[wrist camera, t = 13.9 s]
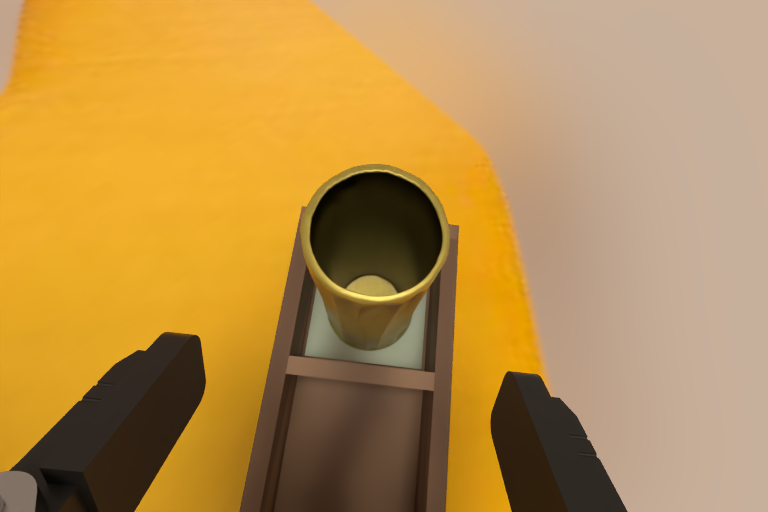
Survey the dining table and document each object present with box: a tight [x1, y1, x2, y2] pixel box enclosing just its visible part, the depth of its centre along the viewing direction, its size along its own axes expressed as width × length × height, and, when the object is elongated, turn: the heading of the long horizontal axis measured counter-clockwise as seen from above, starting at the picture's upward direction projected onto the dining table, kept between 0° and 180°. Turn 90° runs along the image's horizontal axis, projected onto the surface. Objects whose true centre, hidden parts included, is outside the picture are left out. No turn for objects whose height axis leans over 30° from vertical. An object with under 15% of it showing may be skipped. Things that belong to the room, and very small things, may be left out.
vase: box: [300, 164, 450, 351], centre depth 19 cm, size 6×6×14 cm
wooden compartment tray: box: [240, 206, 459, 512], centre depth 23 cm, size 10×20×5 cm, turn 174°
